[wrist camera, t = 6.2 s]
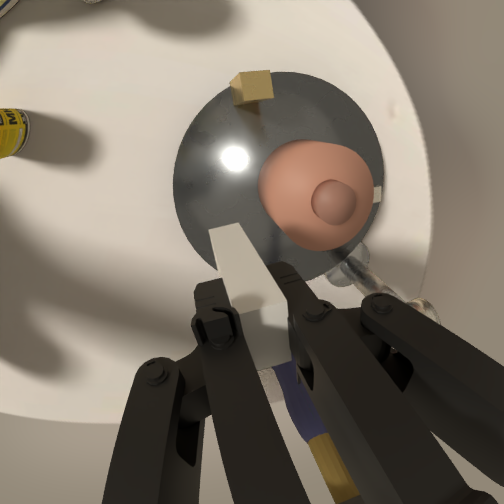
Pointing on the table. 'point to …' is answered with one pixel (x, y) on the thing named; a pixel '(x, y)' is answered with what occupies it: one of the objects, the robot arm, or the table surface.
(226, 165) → the turntable
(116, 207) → the table surface
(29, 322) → the table surface
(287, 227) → the cover
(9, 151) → the supplement bottle
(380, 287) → the gauge post
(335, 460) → the rubber mallet
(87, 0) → the light bulb
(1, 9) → the supplement tub
